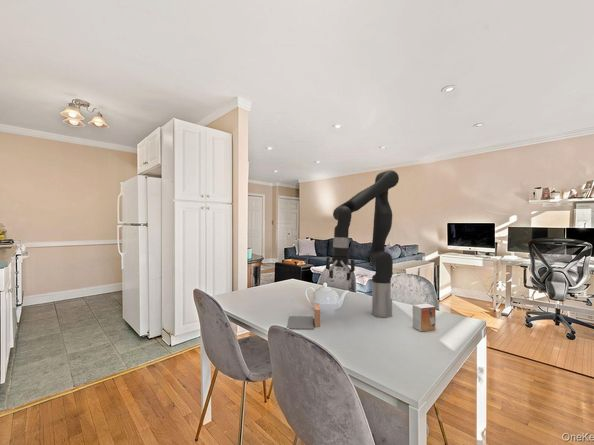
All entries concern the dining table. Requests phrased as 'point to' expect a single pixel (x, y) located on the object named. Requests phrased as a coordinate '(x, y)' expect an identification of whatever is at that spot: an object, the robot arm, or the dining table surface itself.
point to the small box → (424, 317)
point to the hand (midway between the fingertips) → (339, 279)
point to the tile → (317, 314)
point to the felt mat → (300, 322)
